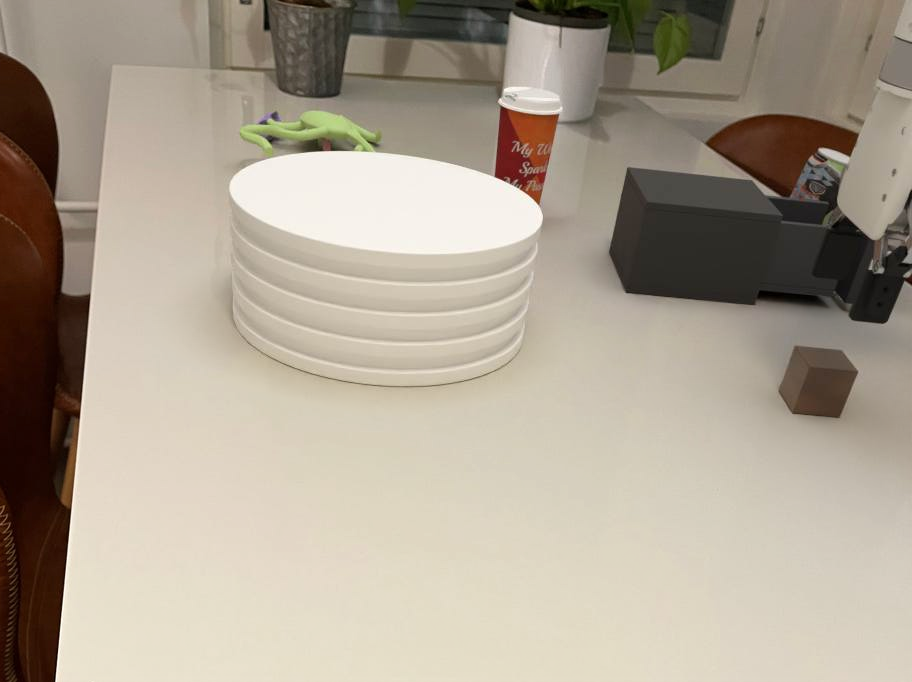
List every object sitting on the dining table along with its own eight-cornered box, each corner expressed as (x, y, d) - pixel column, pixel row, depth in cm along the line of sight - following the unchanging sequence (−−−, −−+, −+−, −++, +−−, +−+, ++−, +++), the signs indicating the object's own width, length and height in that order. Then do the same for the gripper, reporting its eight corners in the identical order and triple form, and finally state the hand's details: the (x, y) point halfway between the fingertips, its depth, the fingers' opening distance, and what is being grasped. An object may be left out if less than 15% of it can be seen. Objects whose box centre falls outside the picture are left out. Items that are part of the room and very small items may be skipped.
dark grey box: (727, 264, 119) (752, 180, 112) (754, 305, 109) (783, 215, 103) (608, 252, 118) (627, 166, 111) (625, 292, 108) (647, 201, 102)
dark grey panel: (869, 272, 119) (895, 205, 114) (905, 309, 110) (935, 238, 105) (713, 256, 117) (733, 188, 112) (737, 293, 109) (759, 220, 104)
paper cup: (507, 230, 120) (526, 102, 111) (471, 209, 125) (486, 86, 115) (557, 224, 124) (579, 100, 115) (520, 204, 128) (538, 84, 119)
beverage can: (762, 241, 127) (794, 140, 119) (818, 248, 127) (853, 148, 119) (773, 258, 122) (807, 154, 114) (831, 265, 122) (869, 162, 115)
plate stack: (206, 271, 100) (200, 150, 93) (458, 261, 110) (471, 151, 102) (273, 398, 81) (273, 258, 74) (572, 374, 91) (598, 248, 83)
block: (824, 394, 93) (842, 349, 90) (840, 417, 89) (858, 371, 86) (778, 390, 92) (794, 345, 90) (792, 413, 89) (809, 366, 86)
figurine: (236, 181, 124) (234, 133, 120) (255, 126, 144) (254, 83, 140) (382, 195, 125) (385, 147, 122) (381, 139, 146) (383, 97, 142)
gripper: (1037, 106, 67) (928, 344, 78) (935, 57, 80) (854, 267, 91) (933, 92, 67) (837, 335, 77) (847, 45, 80) (776, 258, 91)
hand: (846, 298), depth 84 cm, fingers open, 9 cm apart
